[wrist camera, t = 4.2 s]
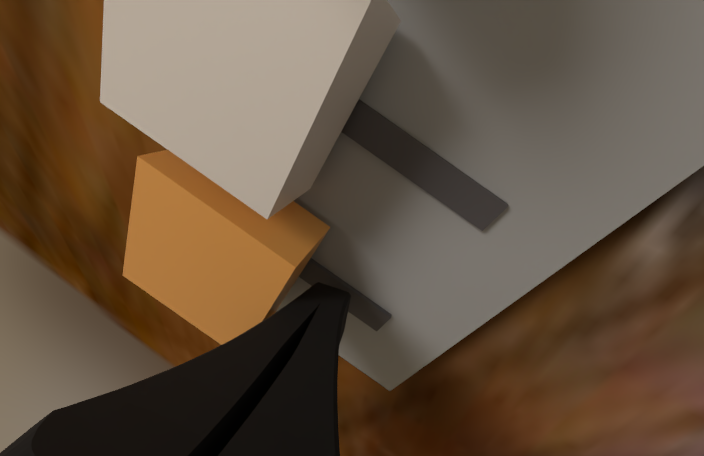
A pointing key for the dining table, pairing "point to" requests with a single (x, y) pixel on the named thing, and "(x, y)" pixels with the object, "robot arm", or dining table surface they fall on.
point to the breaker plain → (243, 83)
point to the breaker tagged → (212, 248)
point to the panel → (497, 160)
